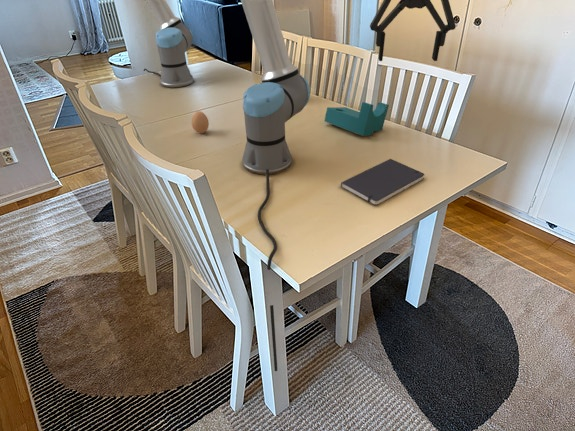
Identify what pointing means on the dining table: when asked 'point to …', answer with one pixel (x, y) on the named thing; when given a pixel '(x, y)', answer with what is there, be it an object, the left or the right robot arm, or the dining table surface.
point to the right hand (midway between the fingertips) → (407, 59)
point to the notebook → (382, 181)
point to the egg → (199, 122)
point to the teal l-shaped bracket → (358, 118)
